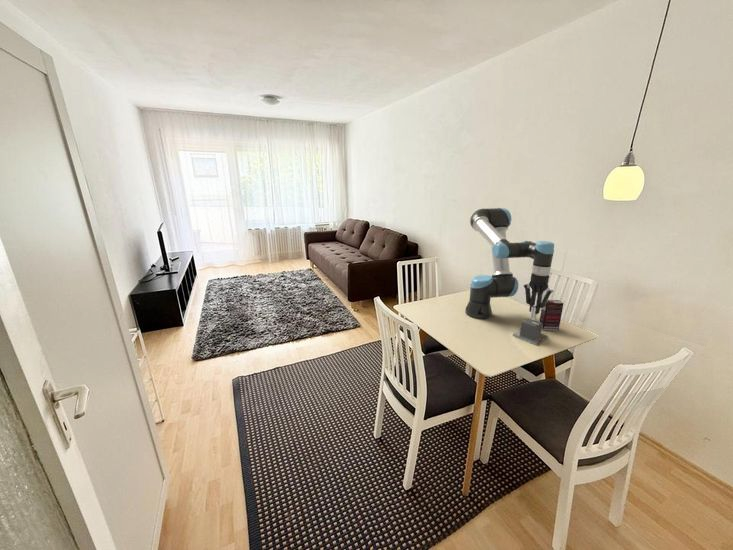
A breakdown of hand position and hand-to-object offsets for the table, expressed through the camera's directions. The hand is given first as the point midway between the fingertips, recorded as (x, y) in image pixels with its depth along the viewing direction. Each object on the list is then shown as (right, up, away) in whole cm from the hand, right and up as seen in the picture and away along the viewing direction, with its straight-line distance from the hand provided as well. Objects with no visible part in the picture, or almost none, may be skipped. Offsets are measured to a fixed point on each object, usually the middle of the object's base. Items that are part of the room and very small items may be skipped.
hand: (533, 318), depth 148 cm
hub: (0, -10, +3) cm, 10 cm away
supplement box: (+15, -7, +12) cm, 20 cm away
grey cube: (0, -9, +3) cm, 9 cm away
